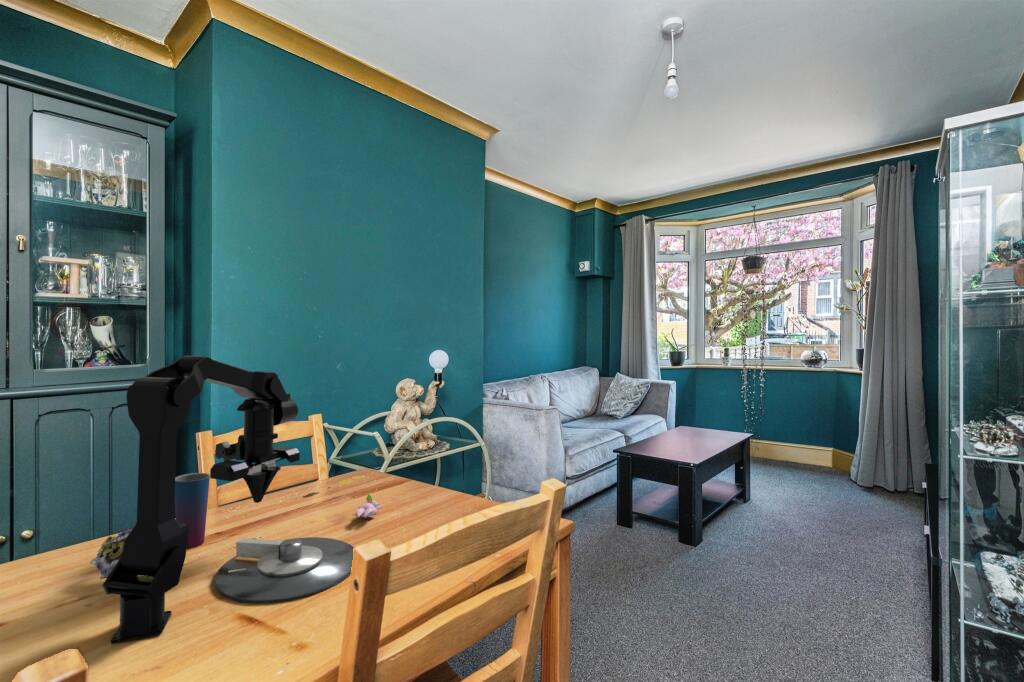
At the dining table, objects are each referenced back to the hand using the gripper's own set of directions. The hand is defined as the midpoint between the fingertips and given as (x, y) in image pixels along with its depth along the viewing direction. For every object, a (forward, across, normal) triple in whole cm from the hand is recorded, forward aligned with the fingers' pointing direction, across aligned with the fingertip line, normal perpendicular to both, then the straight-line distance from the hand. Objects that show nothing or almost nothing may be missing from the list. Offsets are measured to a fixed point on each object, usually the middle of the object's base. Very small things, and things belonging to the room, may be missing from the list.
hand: (257, 502), depth 105 cm
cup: (+11, +2, -17) cm, 21 cm away
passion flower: (+11, +16, -14) cm, 24 cm away
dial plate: (+11, +3, +12) cm, 16 cm away
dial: (+10, +3, +9) cm, 14 cm away
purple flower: (+11, -27, +9) cm, 31 cm away
